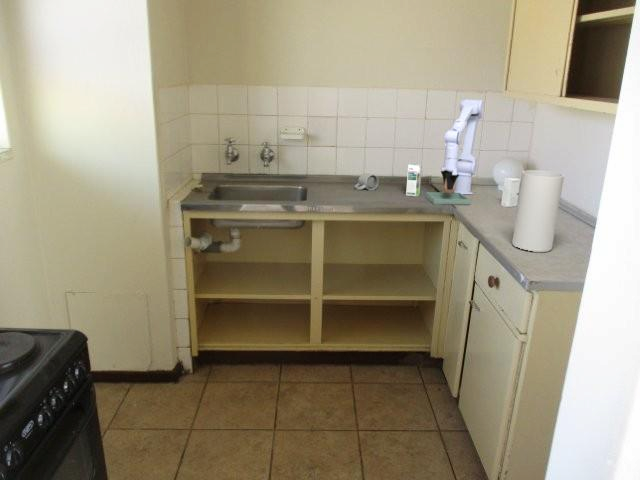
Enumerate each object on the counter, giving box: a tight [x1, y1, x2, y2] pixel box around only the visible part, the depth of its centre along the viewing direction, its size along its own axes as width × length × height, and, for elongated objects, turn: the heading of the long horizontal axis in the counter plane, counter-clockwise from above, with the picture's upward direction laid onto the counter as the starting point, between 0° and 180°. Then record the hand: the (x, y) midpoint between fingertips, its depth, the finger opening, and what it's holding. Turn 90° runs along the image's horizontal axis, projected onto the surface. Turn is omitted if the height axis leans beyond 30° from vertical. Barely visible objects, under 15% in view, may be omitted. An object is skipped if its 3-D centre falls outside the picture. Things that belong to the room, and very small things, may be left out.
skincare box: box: [500, 177, 521, 208], centre depth 231 cm, size 6×4×12 cm
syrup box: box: [405, 163, 423, 197], centre depth 246 cm, size 6×6×14 cm
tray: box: [425, 191, 471, 206], centre depth 237 cm, size 14×16×2 cm
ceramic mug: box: [354, 172, 379, 191], centre depth 258 cm, size 11×8×8 cm
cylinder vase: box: [511, 169, 565, 253], centre depth 173 cm, size 12×12×25 cm
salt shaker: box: [442, 178, 456, 194], centre depth 235 cm, size 5×5×7 cm
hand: (448, 188), depth 236 cm, fingers closed on salt shaker, 5 cm apart
